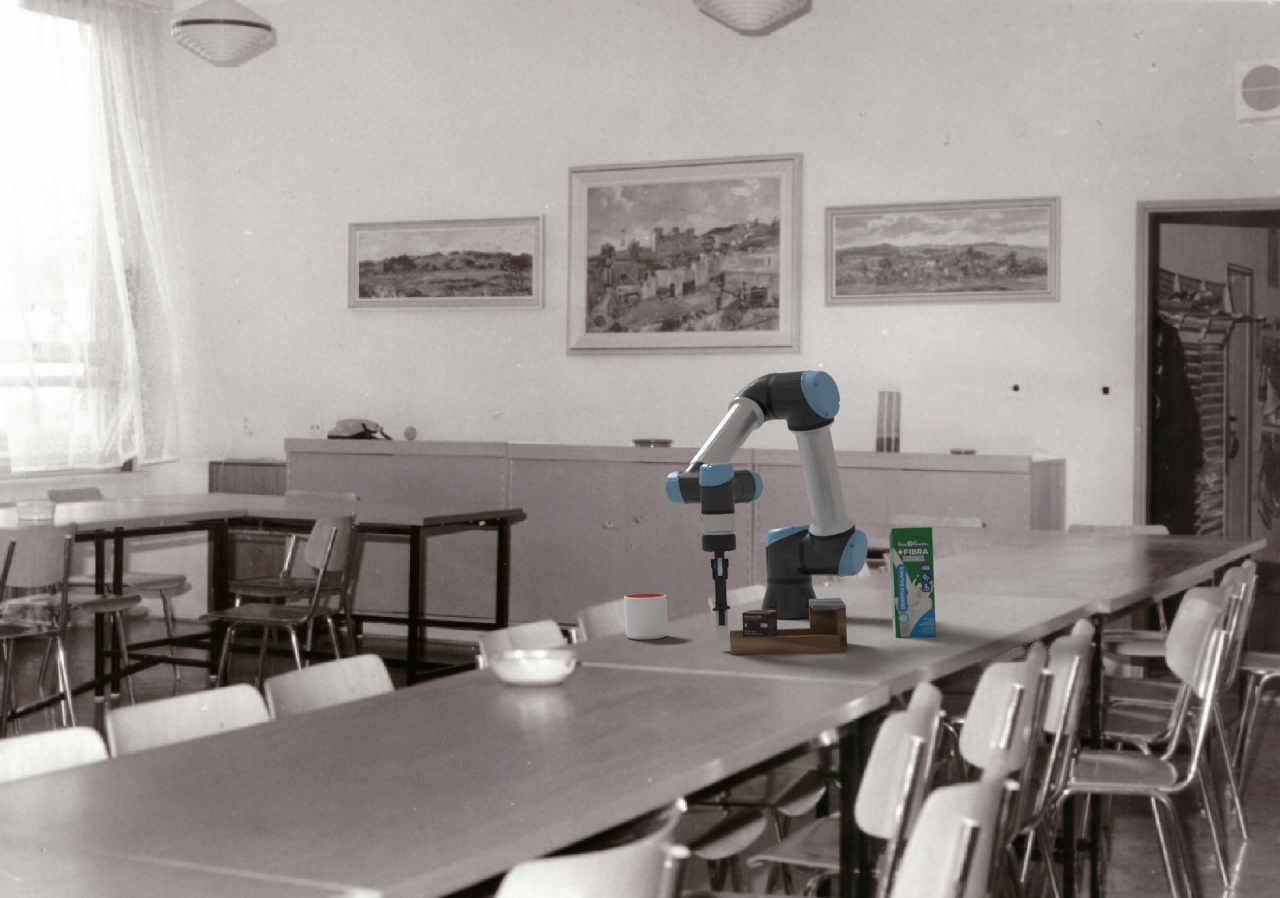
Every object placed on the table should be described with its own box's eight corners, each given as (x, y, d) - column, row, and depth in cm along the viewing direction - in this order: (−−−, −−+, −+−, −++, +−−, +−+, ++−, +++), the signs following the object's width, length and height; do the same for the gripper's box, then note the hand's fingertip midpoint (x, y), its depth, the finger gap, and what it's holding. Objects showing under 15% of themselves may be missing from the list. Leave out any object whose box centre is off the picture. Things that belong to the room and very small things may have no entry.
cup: (663, 640, 337) (662, 597, 337) (621, 640, 339) (620, 598, 339) (671, 634, 347) (669, 592, 347) (630, 634, 349) (629, 593, 349)
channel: (730, 645, 325) (728, 601, 325) (841, 642, 324) (840, 597, 324) (731, 654, 312) (729, 608, 312) (847, 651, 311) (845, 604, 311)
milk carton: (931, 631, 336) (928, 524, 336) (936, 636, 328) (932, 526, 327) (892, 631, 337) (889, 525, 337) (895, 637, 328) (891, 527, 328)
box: (742, 646, 317) (741, 612, 317) (752, 642, 322) (751, 609, 322) (768, 647, 314) (767, 613, 314) (778, 643, 320) (777, 610, 319)
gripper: (701, 531, 325) (705, 635, 325) (701, 535, 312) (705, 644, 312) (735, 530, 325) (738, 634, 325) (736, 534, 312) (740, 643, 312)
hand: (722, 639), depth 318 cm, fingers closed
